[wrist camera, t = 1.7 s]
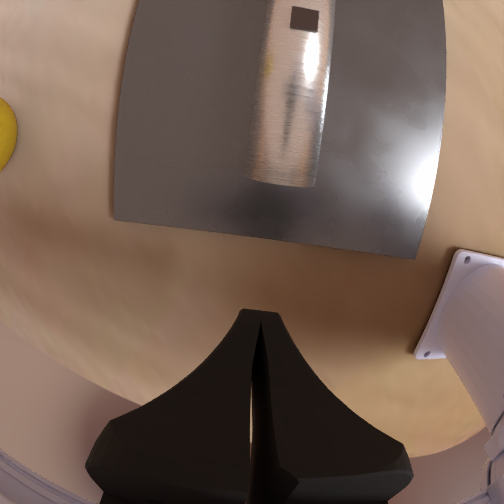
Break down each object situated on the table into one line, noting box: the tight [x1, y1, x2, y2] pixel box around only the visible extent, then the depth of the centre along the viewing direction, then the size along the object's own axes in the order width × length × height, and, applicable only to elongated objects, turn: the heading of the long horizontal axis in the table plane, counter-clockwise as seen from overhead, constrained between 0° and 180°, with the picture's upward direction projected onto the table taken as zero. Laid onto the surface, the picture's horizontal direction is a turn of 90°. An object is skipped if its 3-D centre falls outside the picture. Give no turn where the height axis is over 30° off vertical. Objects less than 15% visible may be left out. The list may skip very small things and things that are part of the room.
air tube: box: [245, 0, 335, 187], centre depth 9 cm, size 13×3×3 cm, turn 173°
